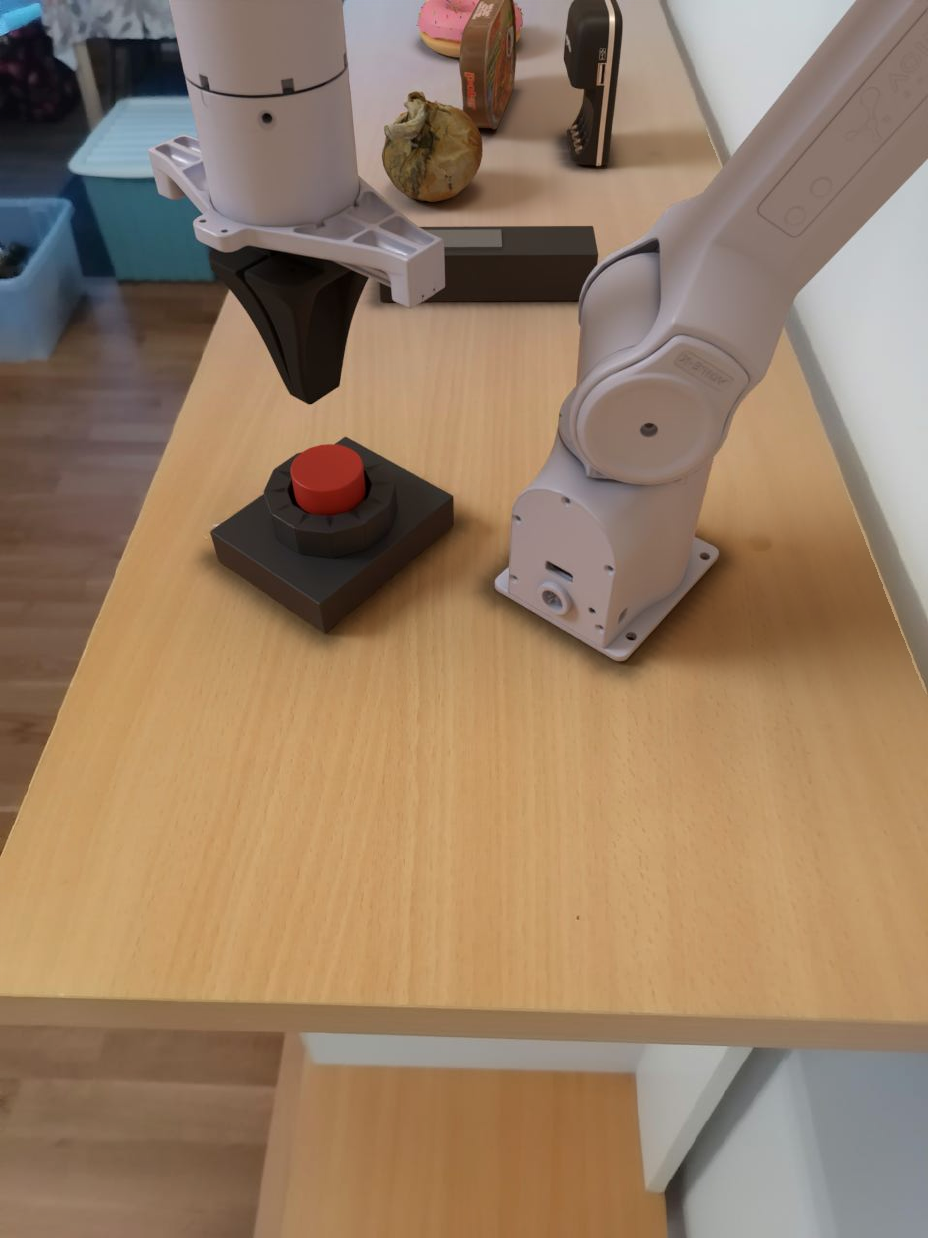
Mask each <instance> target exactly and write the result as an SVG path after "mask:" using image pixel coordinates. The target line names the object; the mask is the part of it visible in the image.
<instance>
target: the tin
mask: <svg viewBox="0 0 928 1238" xmlns="http://www.w3.org/2000/svg"><path fill="white" fill-rule="evenodd" d="M513 1H514V0H479V2H478V4H477V5H476V7H475V9H474V11H473V13H472V14H471V16H470V18H469V20H468V22H467V24H466V26H465V28H464V30H463V34H462V39H461V45H460V58H458V59H459V60H458V61H459V65H458V69H459V75H460V76H459V77H460V81H461V98H462V110H463V111H464V112H465V113H466V114H467V115H468V116H469V117H470V118H471V119H472V120H473V122H474V123H475V124H476V126H477V128H478V129H491V130H497V129H498V127H499V125H500V123H501V120H502V117H503V115H504V114H505V110H506V108H507V105H508V103H509V101H510V99H511V96H512V93H513V90H514V84H515V78H516V66H517V65H516V64H517V42H516V20H515V19H516V18H515V8H514V2H515V1H514V2H513Z"/></svg>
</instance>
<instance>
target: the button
mask: <svg viewBox="0 0 928 1238" xmlns="http://www.w3.org/2000/svg"><path fill="white" fill-rule="evenodd" d="M301 452H302V453H301V454H299V455H298V456H297V457H296V458H295V460H294V461H293V463H292V466H291V470H290V471H291V478H292V483H293V489H294V494H295V499H296V501H297V503H298V505H299V506H300V507H301V508H302V509H303V510H305V511H306V512H308V513H310V514H315V515H324V516H333V515H337V514H341V513H345V512H349V511H351V510H353V509H354V508H356V507H357V506H358V505H359V504H360V503H361V502H362V500H363V499H364V496H365V493H366V487H365V478H364V469H363V462H362V459H361V458H360V456H359V455H358V454H357V453H356V452H355V451H354V450H352V449H350V448H348V447H345V446H341V445H335V443H334V444H333V443H331V444H330V443H327V444H320V445H315V446H312V447H309V448H307V449H305V450H304V451H301Z"/></svg>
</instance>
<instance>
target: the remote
mask: <svg viewBox="0 0 928 1238" xmlns="http://www.w3.org/2000/svg"><path fill="white" fill-rule="evenodd" d="M419 227H420V228H422V229H423V230H425V231H427V232H429V233H431V234H433V235H435V236H437V237H440V238H442V239H443V240H444V260H445V287H444V288H443V289H441V290H440V291H438V292H437V293H435V294H434V295H433V296H431V297H430V298H428V299H426V300H425V301H424V302H557V301H558V302H562V301H563V302H565V301H566V302H575V301H576V302H579V297H580V294H581V290H582V287H583V285H584V283H585V281H586V279H587V277H588V276H589V274H590V273H591V272H592V270H593V269H594V268H595V267H596V266H597V265H598V264H599V263H598V261H599V251H598V245H597V239H596V233H595V228H594V225H507V226H504V225H502V226H501V225H500V226H499V225H498V226H496V225H495V226H493V225H491V226H488V225H486V226H485V225H484V226H482V225H481V226H478V225H477V226H476V225H475V226H419ZM378 284H379V285H378V286H379V299H380V302H389V303H390V302H395V301H394V300H392V291H391V287H389V286H387V285H384V284H382V283H380V282H378Z"/></svg>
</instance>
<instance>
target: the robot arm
mask: <svg viewBox="0 0 928 1238" xmlns="http://www.w3.org/2000/svg"><path fill="white" fill-rule="evenodd" d="M168 3H169V8H170V12H171V17H172V22H173V26H174V32H175V37H176V41H177V46H178V51H179V55H180V61H181V65H182V69H183V74H184V77H185V84H186V89H187V92H188V98H189V102H190V107H191V111H192V115H193V121H194V126H195V130H196V135H197V137H195V136H192V135H189V134H186V133H182V134H179V135H178V136H175V137H172V138H170V139H167V140H165V141H163V142H160V143H158V144H156V145H153V146H150V147H149V148H147V153H148V157H149V161H150V165H151V169H152V173H153V177H154V181H155V185H156V189H157V193H158V194H159V195H160V196H162V197H164V198H167V199H169V200H172V201H178V200H181V199H183V198H184V197H185V196H186V197H187V198H188V199H189V200H190V202H192V204H193V205H194V206H195V207H196V208H197V209H198V210H199V212H200V213H201V215H199V216H197V217H196V218H195V219H194V220H193V222H192V227H193V230H194V234H195V238H196V240H197V241H199V242H200V243H201V244H204V245H206V246H208V247H211V248H212V249H210V251H209V252H208V254H207V255H208V256H207V257H208V262H209V267H210V270H211V271H212V272H213V273H214V274H215V275H216V276H217V277H218V278H219V279H220V280H221V281H222V283H224V285H225V286H226V287H227V288H228V289H229V291H230V292H231V293H232V294H233V295H234V297H235V298H236V299H237V301H238V302H239V303H240V305H241V307H242V308H243V309H244V311H245V312H246V314H247V315H248V317H249V319H250V320H251V322H252V323H253V325H254V326H255V328H256V330H257V332H258V333H259V335H260V337H261V339H262V341H263V343H264V345H265V347H266V349H267V351H268V353H269V355H270V357H271V359H272V362H273V363H274V365H275V367H276V370H277V372H278V374H279V376H280V378H281V381H282V383H283V385H284V386H285V388H286V391H287V392H288V393H289V395H290V396H292V397H293V398H295V399H298V400H299V401H301V402H303V403H305V404H306V405H310V406H311V405H314V404H315V403H316V402H318V401H320V400H321V399H323V398H324V397H325V396H327V395H328V394H330V393H332V392H333V391H334V390H336V389H337V388H339V387H340V385H341V379H342V372H343V365H344V359H345V353H346V347H347V342H348V337H349V333H350V329H351V325H352V321H353V318H354V315H355V312H356V309H357V306H358V303H359V301H360V298H361V296H362V294H363V291H364V290H365V287H366V285H367V283H368V280H369V279H371V280H374V281H376V282H378V283H379V282H380V283H382V284H384V285H387V286H389V287H391V291H392V300H394V301H393V302H394V303H397V304H398V305H401V306H404V307H405V308H408V309H414V307H416V306H418V305H420V304H421V303H422V302H426V301H425V300H426V299H428V298H430V297H431V296H433V295H434V294H435V293H437V292H438V291H440V290H441V289H443V288H444V287H445V260H444V240H443V239H442V238H440V237H437V236H435V235H433V234H431V233H429V232H427V231H425V230H423V229H422V228H420V227H421V226H418V225H417V224H416V223H414V222H413V221H411V219H409V218H408V217H407V216H406V215H404V213H402V212H401V211H400V210H399V209H398V208H397V207H396V206H394V205H393V204H392V203H391V202H390V201H389V200H387V199H386V198H385V197H384V196H383V195H382V194H381V193H379V192H378V191H377V190H376V189H375V188H374V187H373V186H371V185H370V184H369V183H368V182H367V181H366V180H365V179H363V178H362V177H361V176H360V175H359V169H358V160H357V159H358V158H357V147H356V136H355V126H354V125H355V123H354V114H353V103H352V92H351V84H350V83H351V82H350V70H349V62H348V61H349V60H348V59H349V58H348V49H347V39H346V29H345V27H346V26H345V17H344V6H343V0H168ZM927 160H928V0H855V1H854V2H853V3H852V4H851V5H850V7H849V8H848V10H847V11H846V12H845V13H844V14H843V16H842V17H841V18H840V19H839V21H838V22H837V23H836V25H835V26H834V27H833V29H832V30H831V31H830V32H829V34H828V35H827V36H826V37H825V38H824V40H823V41H822V42H821V44H819V45H818V47H817V48H816V50H815V51H814V52H813V53H812V54H811V56H810V57H809V58H808V60H806V62H805V63H804V65H803V66H802V67H801V69H800V70H799V71H798V72H797V74H796V75H794V77H793V78H792V80H791V81H790V82H789V84H788V85H787V86H786V87H785V89H784V90H783V91H782V92H781V93H780V95H779V96H778V98H777V99H776V100H775V101H774V102H773V103H772V104H771V106H770V107H769V108H768V110H767V111H766V112H765V114H764V115H763V116H762V117H761V119H760V120H759V121H758V122H757V124H755V126H754V127H753V129H751V131H750V133H748V134H747V136H746V138H745V139H744V140H743V141H742V143H741V144H740V145H739V146H738V148H737V149H736V150H735V151H734V153H733V154H732V155H731V156H730V158H729V159H728V160H727V161H726V162H725V164H724V165H723V166H722V167H721V169H720V170H719V171H718V173H717V174H716V175H715V177H714V178H713V179H712V180H711V181H710V182H709V184H708V185H707V187H706V188H705V189H704V190H703V191H702V192H700V193H699V194H697V195H695V196H692V197H690V198H687V199H683V200H681V201H678V202H676V203H673V204H670V205H669V206H668V207H666V208H665V210H664V211H663V212H662V214H661V215H660V216H659V218H658V219H657V220H656V221H655V223H654V224H653V225H652V226H651V227H650V229H648V230H647V231H646V232H645V233H644V234H643V235H641V237H639V238H638V239H636V240H634V241H632V242H631V243H629V244H626V245H625V246H623V247H621V248H619V249H617V250H614V251H612V252H611V253H610V254H608V255H607V256H605V257H604V258H602V260H600V262H599V263H597V266H596V267H595V268H594V269H593V270H592V272H591V273H590V274H589V276H588V277H587V279H586V281H585V283H584V285H583V287H582V290H581V294H580V297H579V301H578V305H577V306H578V307H577V315H578V317H577V318H578V319H577V321H578V322H577V323H578V325H579V338H578V354H577V364H576V365H577V367H576V380H575V386H574V387H573V388H572V390H571V391H570V392H569V393H568V394H567V396H566V397H565V398H564V400H563V402H562V403H561V406H560V410H559V412H558V413H559V414H558V424H557V429H556V434H555V439H554V442H553V445H552V447H551V450H550V452H549V454H548V456H547V460H546V462H545V463H544V464H543V465H542V467H541V469H540V470H539V472H538V473H537V474H536V476H535V477H534V478H533V479H532V480H531V481H530V483H529V484H528V485H527V486H526V487H525V488H524V489H522V491H520V493H519V494H518V496H517V497H516V498H515V500H514V503H513V505H512V508H511V513H510V514H511V515H510V535H509V536H510V537H509V556H508V557H509V559H508V560H509V562H508V566H507V567H506V568H505V569H504V570H503V571H502V572H500V574H499V575H497V577H496V578H495V579H494V588H495V590H496V591H497V592H499V593H500V594H501V595H503V596H505V597H507V598H508V599H510V600H512V601H513V602H515V603H517V604H518V605H520V606H522V607H523V608H526V609H527V610H529V611H530V612H532V613H534V614H535V615H537V616H538V617H540V618H542V619H544V620H546V622H549V623H551V624H553V625H554V626H555V627H558V628H559V629H561V630H563V631H564V632H566V633H568V634H569V635H571V636H572V637H574V638H576V639H578V640H579V641H581V642H582V643H585V644H586V645H588V646H590V647H591V648H593V649H595V650H596V651H598V652H599V653H601V654H602V655H605V656H606V657H608V658H610V659H611V660H613V661H616V662H623V661H626V660H628V659H629V658H630V656H631V655H632V654H633V653H634V652H635V651H636V650H637V649H638V648H639V647H640V646H641V644H642V643H644V642H645V640H646V639H647V638H648V636H649V635H650V634H651V633H652V632H653V631H654V630H655V629H656V628H657V627H658V626H659V624H660V623H661V622H662V621H663V620H664V619H665V618H666V617H667V616H668V614H669V613H670V612H671V611H672V610H673V609H674V608H675V607H676V606H677V605H678V604H679V603H680V601H681V600H682V599H683V598H684V597H685V596H686V595H687V594H688V593H689V591H690V590H691V589H692V588H693V587H694V586H695V585H696V584H697V582H699V580H700V579H701V578H702V577H703V576H704V575H705V574H706V572H708V570H709V569H710V568H711V567H712V566H713V565H714V564H715V563H716V561H717V560H718V559H719V555H720V551H719V548H717V547H716V546H715V545H712V544H711V543H709V542H706V541H705V540H702V539H701V538H699V537H696V532H697V529H698V524H699V519H700V516H701V511H702V508H703V503H704V500H705V495H706V492H707V487H708V483H709V479H710V476H711V471H712V467H713V463H714V459H715V457H716V455H717V454H718V453H719V452H720V451H721V449H722V448H723V446H724V444H725V442H726V440H727V438H728V434H729V431H730V428H731V425H732V422H733V419H734V416H735V414H736V412H737V411H738V408H739V407H740V405H741V403H743V401H745V399H746V398H747V396H749V394H750V393H751V392H752V391H753V390H754V389H755V388H756V387H757V386H758V385H759V384H760V383H761V382H762V381H763V380H764V379H765V377H766V375H767V373H768V371H769V368H770V366H771V364H772V361H773V359H774V355H775V352H776V350H777V347H778V344H779V341H780V339H781V336H782V333H783V330H784V328H785V325H786V322H787V319H788V317H789V314H790V311H791V308H792V307H793V305H794V302H795V299H796V298H797V296H798V294H799V293H800V292H801V291H802V290H803V289H804V288H805V287H806V286H807V285H808V283H809V282H811V280H813V278H814V277H815V276H816V275H817V274H818V273H819V272H820V271H821V270H822V269H823V268H824V267H825V266H826V265H827V264H828V263H829V262H830V261H831V259H833V258H834V257H835V256H836V255H837V253H839V252H840V250H842V248H844V247H845V246H846V244H847V243H848V242H849V241H850V240H851V239H852V238H853V237H855V235H857V233H858V232H859V231H860V230H861V229H862V228H863V227H864V226H865V225H866V224H867V223H868V222H869V220H870V219H872V218H873V217H874V215H875V214H876V213H877V212H878V211H879V210H880V209H881V208H882V207H883V206H884V205H885V204H886V203H887V202H888V201H889V200H890V199H891V198H892V196H894V194H896V192H898V190H899V189H901V188H902V186H904V184H905V183H906V182H908V181H909V179H910V178H911V177H913V175H914V174H915V173H916V172H917V171H918V170H919V169H920V168H921V167H922V166H923V165H924V164H925V162H927ZM628 638H631V639H633V640H631V639H628Z"/></svg>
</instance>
